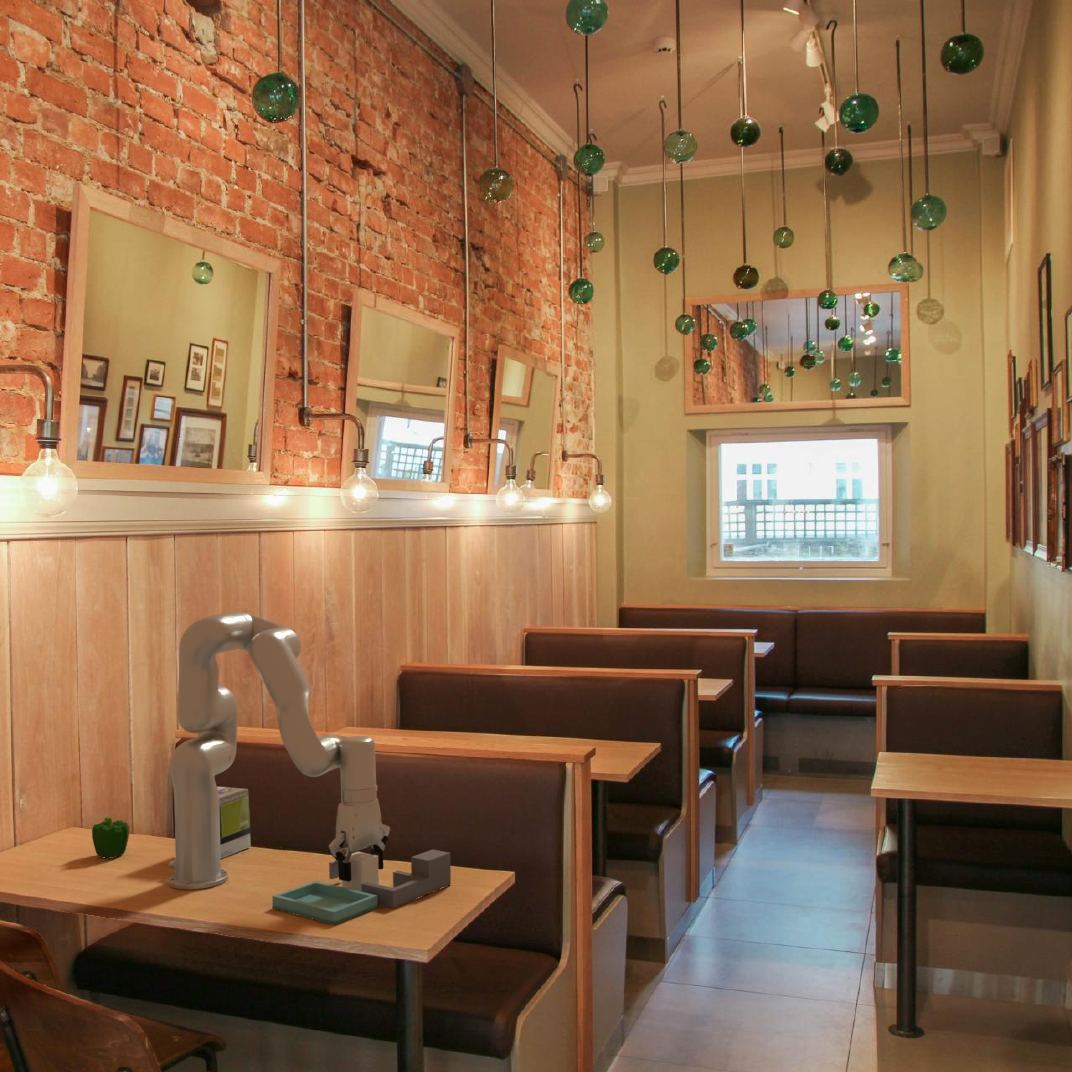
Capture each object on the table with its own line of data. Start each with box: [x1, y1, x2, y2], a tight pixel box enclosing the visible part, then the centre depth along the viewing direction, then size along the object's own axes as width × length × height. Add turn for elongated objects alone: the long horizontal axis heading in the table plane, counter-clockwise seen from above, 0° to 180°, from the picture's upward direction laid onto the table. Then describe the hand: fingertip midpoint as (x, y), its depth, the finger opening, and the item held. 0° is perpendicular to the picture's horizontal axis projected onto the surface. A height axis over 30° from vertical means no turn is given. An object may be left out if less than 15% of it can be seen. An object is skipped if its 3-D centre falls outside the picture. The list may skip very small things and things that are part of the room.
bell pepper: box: [91, 815, 130, 859], centre depth 268 cm, size 8×8×10 cm
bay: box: [361, 849, 452, 909], centre depth 236 cm, size 9×18×7 cm, turn 144°
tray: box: [271, 880, 379, 926], centre depth 227 cm, size 18×12×2 cm, turn 54°
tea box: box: [216, 785, 252, 860], centre depth 268 cm, size 15×10×15 cm
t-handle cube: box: [328, 851, 380, 892], centre depth 241 cm, size 10×5×7 cm, turn 54°
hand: (361, 874), depth 239 cm, fingers open, 9 cm apart
